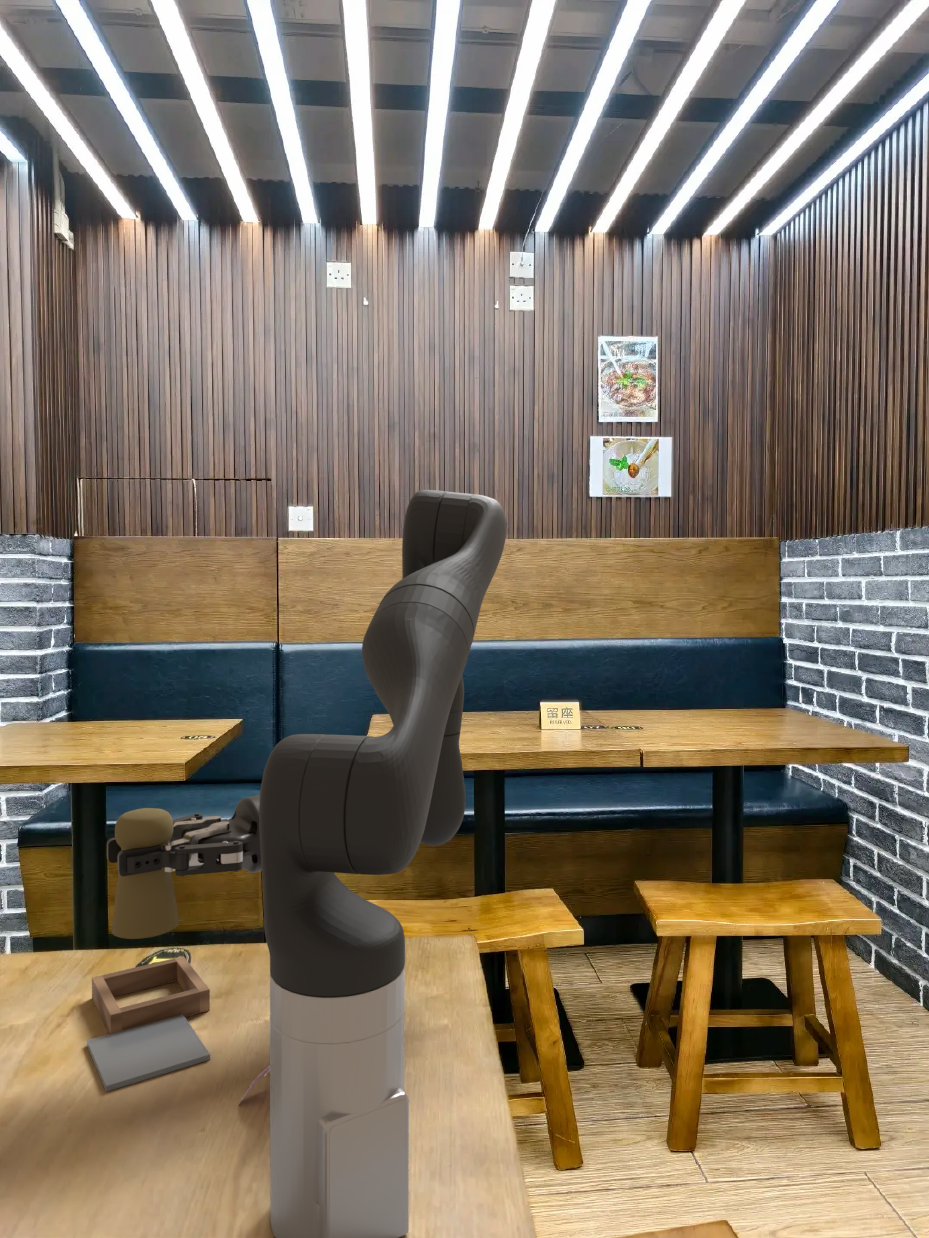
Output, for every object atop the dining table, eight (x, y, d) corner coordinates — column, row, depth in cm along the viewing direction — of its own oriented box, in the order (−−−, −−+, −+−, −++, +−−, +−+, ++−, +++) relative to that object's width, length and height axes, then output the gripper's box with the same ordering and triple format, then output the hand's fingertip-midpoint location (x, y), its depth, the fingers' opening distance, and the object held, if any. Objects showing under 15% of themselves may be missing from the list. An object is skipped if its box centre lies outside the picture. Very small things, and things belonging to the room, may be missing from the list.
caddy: (209, 1010, 86) (209, 989, 86) (110, 1037, 81) (110, 1014, 81) (183, 975, 94) (183, 955, 94) (92, 997, 89) (91, 977, 88)
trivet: (210, 1059, 77) (210, 1054, 77) (106, 1091, 72) (106, 1085, 72) (182, 1018, 84) (182, 1013, 84) (86, 1045, 79) (86, 1039, 79)
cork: (189, 914, 81) (188, 803, 81) (161, 939, 75) (160, 819, 75) (130, 912, 82) (129, 801, 82) (98, 937, 76) (96, 818, 76)
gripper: (262, 780, 92) (96, 801, 83) (316, 806, 81) (130, 835, 71) (262, 847, 93) (97, 876, 83) (316, 883, 81) (131, 922, 71)
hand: (113, 857), depth 77 cm, fingers closed on cork, 4 cm apart
